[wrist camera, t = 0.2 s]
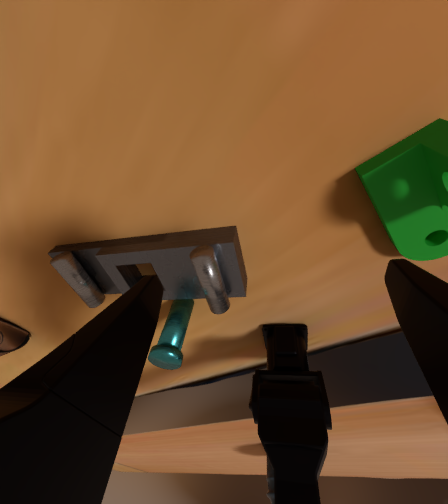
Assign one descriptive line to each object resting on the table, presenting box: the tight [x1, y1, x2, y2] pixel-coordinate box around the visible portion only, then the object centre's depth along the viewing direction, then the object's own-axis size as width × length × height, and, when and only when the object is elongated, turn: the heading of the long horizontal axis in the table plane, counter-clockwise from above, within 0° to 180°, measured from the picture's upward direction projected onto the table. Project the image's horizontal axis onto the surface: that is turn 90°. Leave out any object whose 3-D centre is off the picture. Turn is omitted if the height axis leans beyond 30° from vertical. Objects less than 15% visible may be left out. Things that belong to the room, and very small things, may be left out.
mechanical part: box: [355, 118, 448, 261], centre depth 18 cm, size 12×6×8 cm, turn 40°
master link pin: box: [148, 299, 194, 370], centre depth 31 cm, size 4×4×9 cm
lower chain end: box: [48, 233, 168, 308], centre depth 30 cm, size 8×16×4 cm, turn 102°
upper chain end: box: [95, 226, 247, 314], centre depth 27 cm, size 8×16×5 cm, turn 102°
